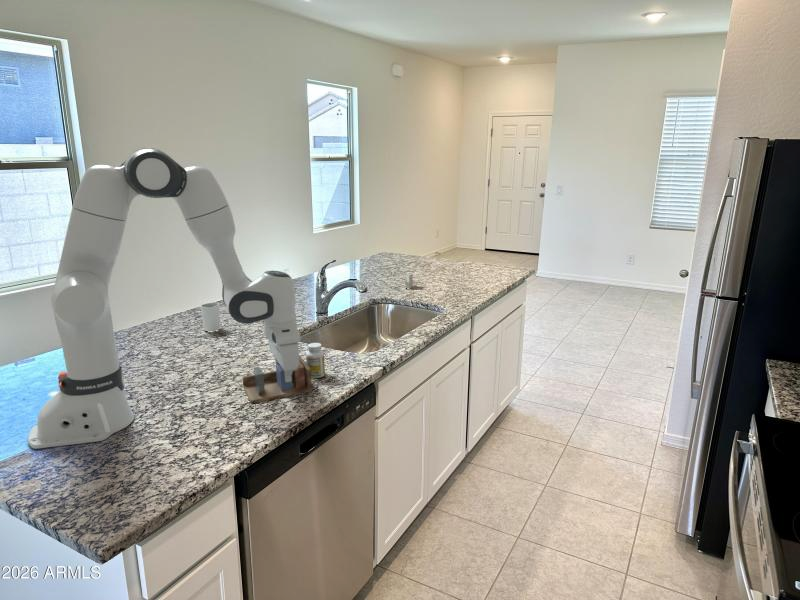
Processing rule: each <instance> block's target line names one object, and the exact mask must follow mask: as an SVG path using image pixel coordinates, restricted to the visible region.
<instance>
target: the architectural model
mask: <svg viewBox="0 0 800 600" xmlns="http://www.w3.org/2000/svg"><path fill="white" fill-rule="evenodd" d="M413 274H414V273H407V275H406V279H405V280H404V281H403V282H402V284H405V289H406V288H411V287H412V286H413V285H414V283H413V280H414V279H413V277H414V275H413ZM413 287H414V286H413ZM413 287H412V288H413ZM412 288H411V289H412Z"/></svg>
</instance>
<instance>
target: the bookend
mask: <svg viewBox="0 0 800 600" xmlns="http://www.w3.org/2000/svg"><path fill="white" fill-rule="evenodd" d="M263 373H264V372H263V371H262V369H261V368H260V366H256V367H253V375H254V380H255V388H256V390H257V392H258V394H259V395H262V394H265V389H264V376H263Z"/></svg>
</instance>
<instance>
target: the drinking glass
mask: <svg viewBox="0 0 800 600" xmlns="http://www.w3.org/2000/svg"><path fill="white" fill-rule="evenodd" d="M199 306H200V312H201V318H202V319H201V320H202V326H203V330H205V331H215V330H218V329H220V330H221V317H220V303H218V302H214V301H213V302H211V301H210V302H204V303H202V304H201V305H199ZM205 331H204V332H205Z"/></svg>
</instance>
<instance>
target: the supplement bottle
mask: <svg viewBox="0 0 800 600" xmlns="http://www.w3.org/2000/svg"><path fill="white" fill-rule="evenodd" d="M307 350H308V351H306V354H305V363H306V364H307V365H308V366H309V368H310V369H311V379H318V378H319V379H320V378H322V377H324V376H325V374H326V369H325V368H326V366H325V352H324V351H323V350H322V344H321V343H320V342H311V343H309V344H308V345H307Z"/></svg>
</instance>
